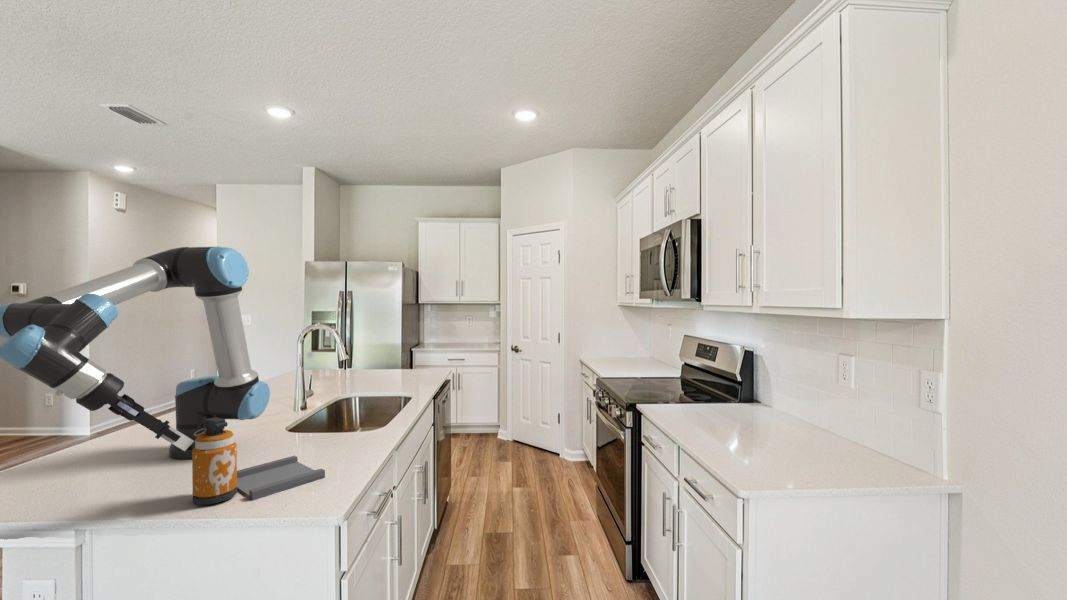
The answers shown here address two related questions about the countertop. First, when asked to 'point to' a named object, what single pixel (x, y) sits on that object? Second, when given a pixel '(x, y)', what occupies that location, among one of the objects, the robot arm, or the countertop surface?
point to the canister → (214, 462)
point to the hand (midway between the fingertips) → (188, 445)
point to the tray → (275, 477)
